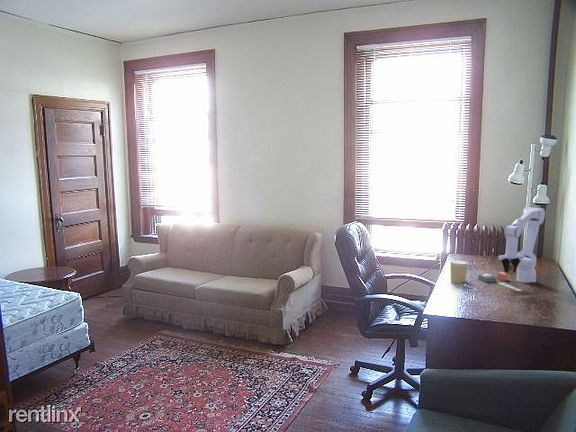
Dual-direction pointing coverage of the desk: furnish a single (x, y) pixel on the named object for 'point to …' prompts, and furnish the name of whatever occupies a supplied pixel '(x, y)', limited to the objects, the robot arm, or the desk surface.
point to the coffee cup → (458, 271)
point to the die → (502, 276)
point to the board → (493, 279)
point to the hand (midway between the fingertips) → (509, 272)
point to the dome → (487, 275)
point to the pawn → (511, 269)
